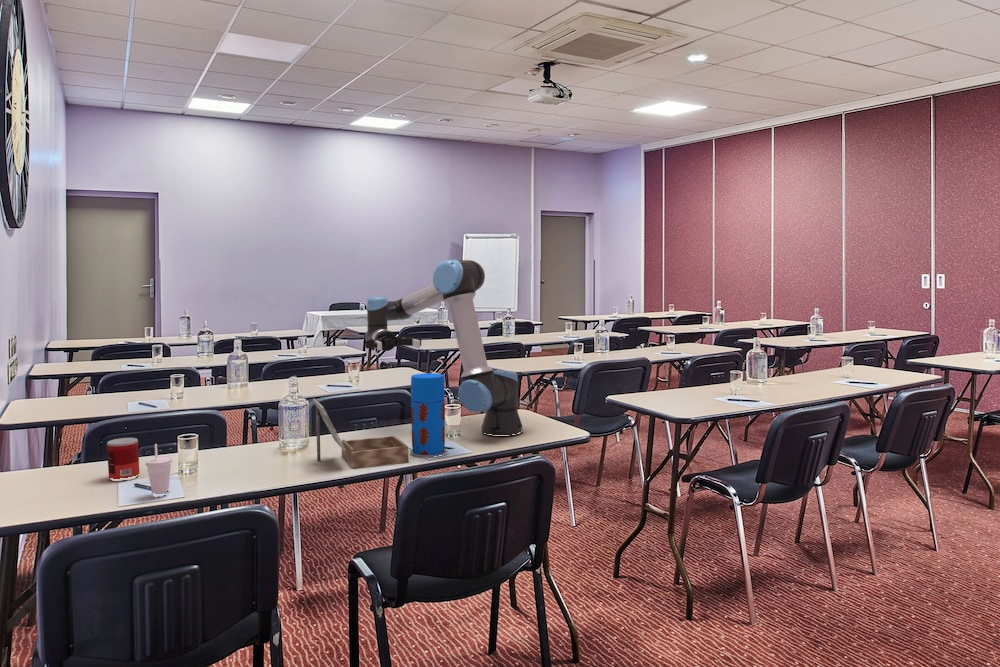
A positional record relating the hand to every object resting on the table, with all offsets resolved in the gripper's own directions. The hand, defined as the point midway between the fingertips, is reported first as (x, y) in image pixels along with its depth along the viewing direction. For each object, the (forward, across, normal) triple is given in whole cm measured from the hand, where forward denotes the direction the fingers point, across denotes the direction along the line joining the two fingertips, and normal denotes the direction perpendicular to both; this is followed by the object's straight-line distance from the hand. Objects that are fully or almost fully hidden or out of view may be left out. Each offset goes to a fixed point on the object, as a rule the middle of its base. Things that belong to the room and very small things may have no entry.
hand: (400, 345), depth 243 cm
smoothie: (+30, +75, -34) cm, 88 cm away
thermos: (+18, -4, -34) cm, 38 cm away
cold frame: (+18, +18, -34) cm, 42 cm away
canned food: (+8, +85, -34) cm, 92 cm away
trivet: (+18, -4, -34) cm, 39 cm away
